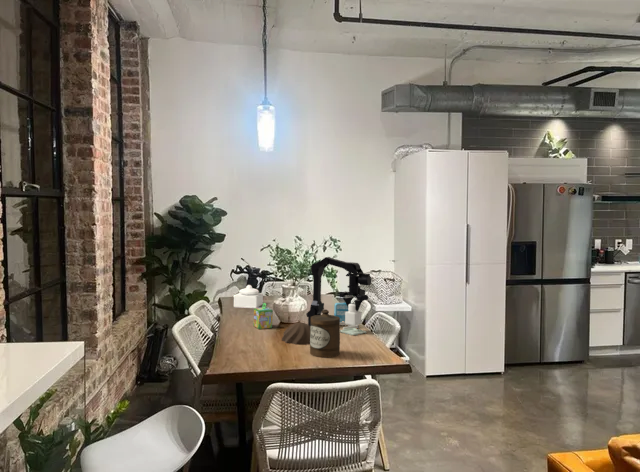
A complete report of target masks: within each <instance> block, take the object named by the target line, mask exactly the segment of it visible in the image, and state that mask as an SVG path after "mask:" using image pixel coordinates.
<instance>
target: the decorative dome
mask: <svg viewBox="0 0 640 472" xmlns="http://www.w3.org/2000/svg"><path fill="white" fill-rule="evenodd" d="M310 333H311V326H309V325H308V323H305V322H300V321H299V322H295V323H293V324H291V325H290V326H288V327H287V328H286V329H285V330H284V332H283V333H282V335H283V336H282V338H281V341H283V342H285V344H293V345H310Z"/></svg>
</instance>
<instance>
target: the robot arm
mask: <svg viewBox="0 0 640 472" xmlns="http://www.w3.org/2000/svg"><path fill="white" fill-rule="evenodd" d="M329 265H330V266H333V267H338V268H340V269H343V270H345V271H346V272H348V273H347V274H346V275H345V276H346V277H348V285H347V288H348V291H346V290H345V291H341V292H340V293H339V297H340V298H342V299H343V301H344V303H346V305H347V307H348V305H349V304H351V303H352V300H353V298H355V299H354V303H355V306H356V311H358V310H359V309H360V307H361V305H362V303H363V302H364V301H368V300H369V295H368V294H366V291H367V290H366V289H363V288H361V286H371V284H372V281H373V280H372V276H371V273H364V272H363V271H364V270H362V268H361V265H360V263H358V262H351V261H350V262H348V261H343V260H340V259H337V258H333V257H331V256H327V257H323V258H322V259H321V260H319V261H317V262H313V263H312V264H311V266H310V269H311V270H310V271H311V274H312V276H313V280H312V281H313V284H312V289H313V290H312V301H311V304H310V308H309V310H308V311H307V313H306V317H307V325H309V326H311V317H312V316H315V315H322V314H323V313H322V311H323V310H325V307H324V306H325V303H324V302H322V299H321V298H322V296H321V295H322V277H323V274H324V272H325V268H326V267H328V266H329ZM360 285H361V286H360Z"/></svg>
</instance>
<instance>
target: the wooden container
mask: <svg viewBox="0 0 640 472" xmlns="http://www.w3.org/2000/svg"><path fill="white" fill-rule="evenodd" d="M340 328H341V326H340V318H339V317H338V316H334V315H331V314H329V310H328V309H324V310H323V311H322V313H321V315H315V316H312V317H311V333H310V343H309V353H310V355H312V356H313V357H318V358H334V357H337V356H338V357H339V355H340V351H341V350H340V349H341V348H340V347H341V332H340V330H341V329H340Z"/></svg>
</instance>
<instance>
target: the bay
mask: <svg viewBox="0 0 640 472" xmlns="http://www.w3.org/2000/svg"><path fill="white" fill-rule="evenodd" d="M340 325H342V326H344V327H342V330H345V329H350V328H358V329H360V324H358V325H349V324H345V321H344V322H340ZM346 325H348V326H346Z"/></svg>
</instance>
